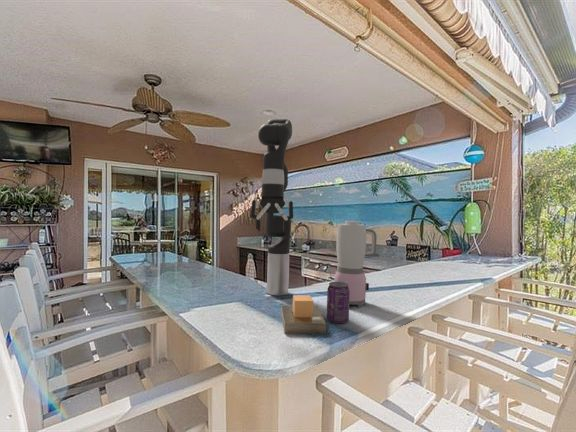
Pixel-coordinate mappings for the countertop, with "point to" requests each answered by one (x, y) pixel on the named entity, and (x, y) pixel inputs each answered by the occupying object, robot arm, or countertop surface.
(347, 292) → the beverage can
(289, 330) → the socket plate
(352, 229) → the blender
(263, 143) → the robot arm
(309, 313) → the plug
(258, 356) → the countertop surface
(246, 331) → the countertop surface
